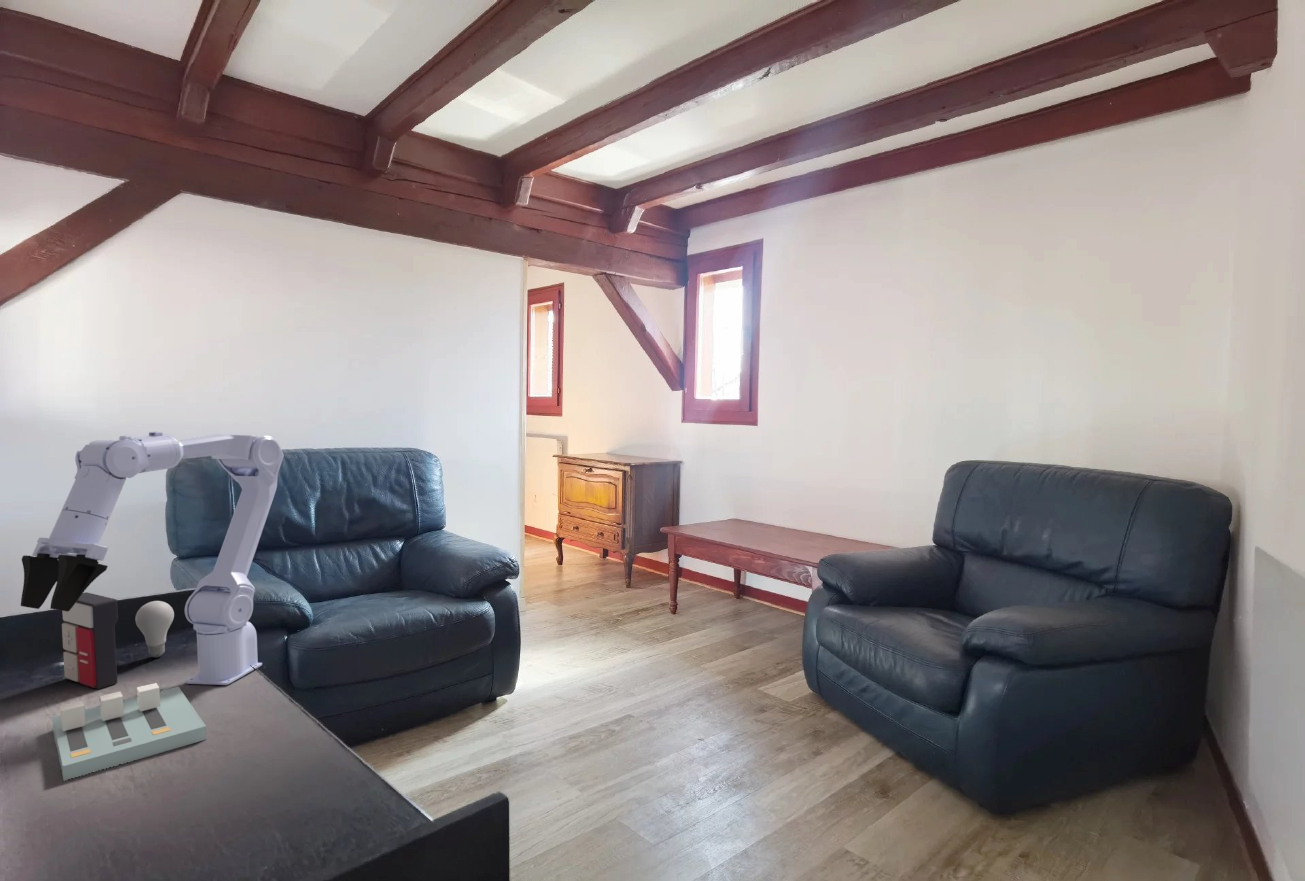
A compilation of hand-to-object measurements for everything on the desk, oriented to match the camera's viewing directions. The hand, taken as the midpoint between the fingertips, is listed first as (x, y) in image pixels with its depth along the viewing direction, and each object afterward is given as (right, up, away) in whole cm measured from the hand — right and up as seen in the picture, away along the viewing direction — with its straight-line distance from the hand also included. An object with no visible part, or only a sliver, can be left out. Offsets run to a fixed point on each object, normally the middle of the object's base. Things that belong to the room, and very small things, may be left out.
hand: (44, 608), depth 98 cm
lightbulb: (-11, -19, +38) cm, 43 cm away
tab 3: (+8, -17, +10) cm, 21 cm away
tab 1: (+1, -18, +3) cm, 18 cm away
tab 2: (+4, -18, +7) cm, 19 cm away
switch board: (+8, -20, +6) cm, 22 cm away
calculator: (-14, -19, +26) cm, 35 cm away
